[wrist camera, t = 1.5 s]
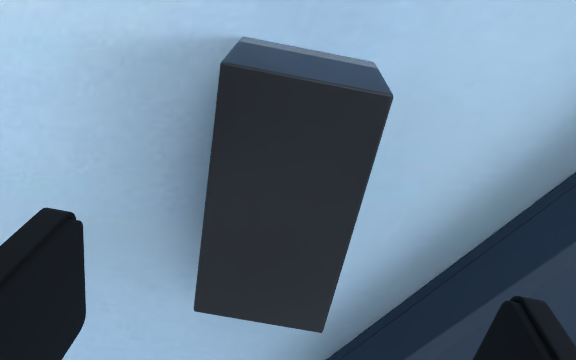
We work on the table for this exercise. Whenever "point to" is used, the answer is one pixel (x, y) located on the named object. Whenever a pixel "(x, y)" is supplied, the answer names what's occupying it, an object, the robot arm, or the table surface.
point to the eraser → (286, 180)
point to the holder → (484, 288)
